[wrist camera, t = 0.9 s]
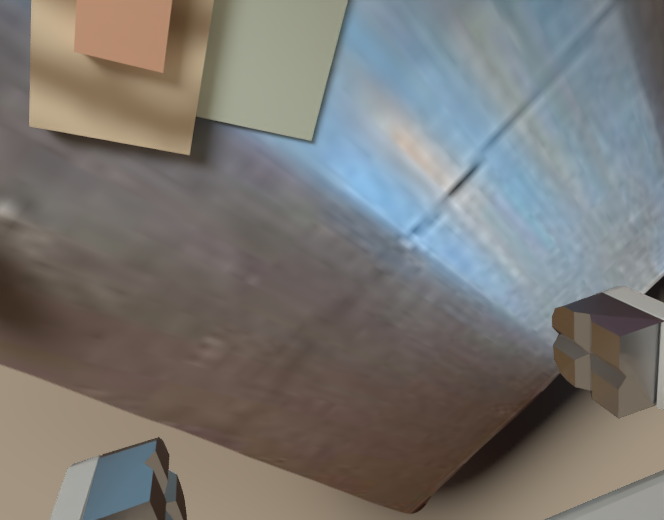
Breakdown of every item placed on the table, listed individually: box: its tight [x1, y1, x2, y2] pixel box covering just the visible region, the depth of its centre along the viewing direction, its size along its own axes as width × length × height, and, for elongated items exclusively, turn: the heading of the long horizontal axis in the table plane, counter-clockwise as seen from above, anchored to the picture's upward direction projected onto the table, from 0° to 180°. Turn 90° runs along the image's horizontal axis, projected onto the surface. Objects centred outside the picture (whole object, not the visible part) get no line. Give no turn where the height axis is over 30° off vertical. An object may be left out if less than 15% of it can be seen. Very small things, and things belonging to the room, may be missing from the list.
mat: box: [196, 0, 348, 141], centre depth 42 cm, size 16×11×1 cm
